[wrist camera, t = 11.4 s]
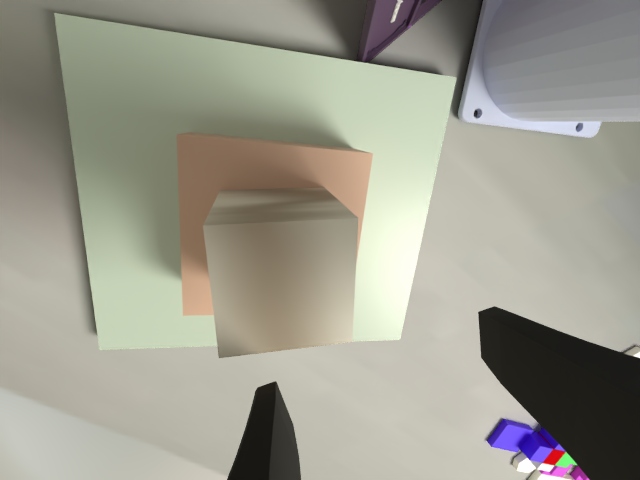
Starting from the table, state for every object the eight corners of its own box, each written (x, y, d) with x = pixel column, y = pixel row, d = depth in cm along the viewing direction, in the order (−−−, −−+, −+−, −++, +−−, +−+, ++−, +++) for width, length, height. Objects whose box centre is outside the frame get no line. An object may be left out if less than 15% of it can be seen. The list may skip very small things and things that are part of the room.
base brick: (353, 148, 17) (373, 153, 14) (335, 286, 19) (348, 313, 17) (190, 132, 15) (176, 134, 12) (193, 285, 18) (183, 315, 15)
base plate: (445, 79, 18) (456, 77, 17) (394, 330, 23) (400, 339, 22) (67, 20, 14) (53, 12, 13) (106, 338, 19) (99, 349, 18)
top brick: (324, 187, 14) (358, 218, 10) (323, 277, 16) (352, 341, 11) (220, 190, 13) (202, 225, 9) (229, 285, 15) (218, 357, 10)
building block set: (443, 489, 31) (472, 545, 27) (573, 312, 26) (632, 347, 22) (603, 513, 39) (645, 559, 35) (725, 379, 34) (790, 414, 30)
